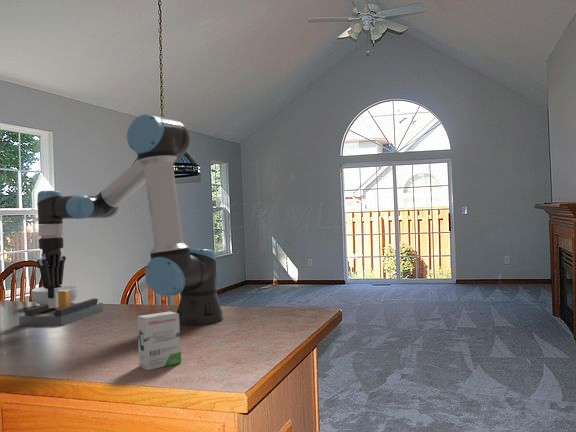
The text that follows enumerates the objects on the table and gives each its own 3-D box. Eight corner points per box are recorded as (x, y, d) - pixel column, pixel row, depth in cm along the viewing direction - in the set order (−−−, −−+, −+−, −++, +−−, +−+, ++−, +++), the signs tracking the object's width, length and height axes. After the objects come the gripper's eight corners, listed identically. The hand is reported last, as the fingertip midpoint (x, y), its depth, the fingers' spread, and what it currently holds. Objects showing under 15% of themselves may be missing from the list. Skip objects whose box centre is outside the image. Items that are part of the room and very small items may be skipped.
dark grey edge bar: (70, 303, 202) (69, 298, 202) (29, 315, 179) (29, 310, 179) (65, 303, 202) (65, 298, 202) (25, 315, 179) (24, 310, 179)
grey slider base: (102, 310, 201) (102, 301, 201) (61, 326, 175) (61, 314, 175) (65, 310, 204) (65, 301, 204) (19, 325, 178) (18, 314, 178)
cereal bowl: (62, 310, 205) (61, 291, 205) (22, 310, 208) (21, 291, 208) (86, 302, 222) (86, 285, 222) (49, 302, 225) (48, 285, 225)
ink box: (172, 359, 132) (171, 310, 132) (182, 363, 128) (180, 312, 128) (138, 366, 127) (136, 315, 126) (146, 370, 123) (144, 318, 122)
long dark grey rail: (97, 303, 200) (97, 298, 200) (60, 315, 177) (60, 310, 177) (93, 303, 200) (92, 298, 200) (55, 315, 177) (55, 310, 177)
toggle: (71, 307, 191) (70, 289, 190) (66, 309, 188) (65, 291, 188) (60, 307, 191) (59, 289, 191) (55, 309, 188) (54, 291, 188)
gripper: (52, 236, 191) (54, 304, 191) (28, 238, 178) (31, 311, 178) (72, 235, 189) (74, 304, 190) (49, 237, 177) (52, 311, 177)
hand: (53, 307), depth 184 cm, fingers closed
